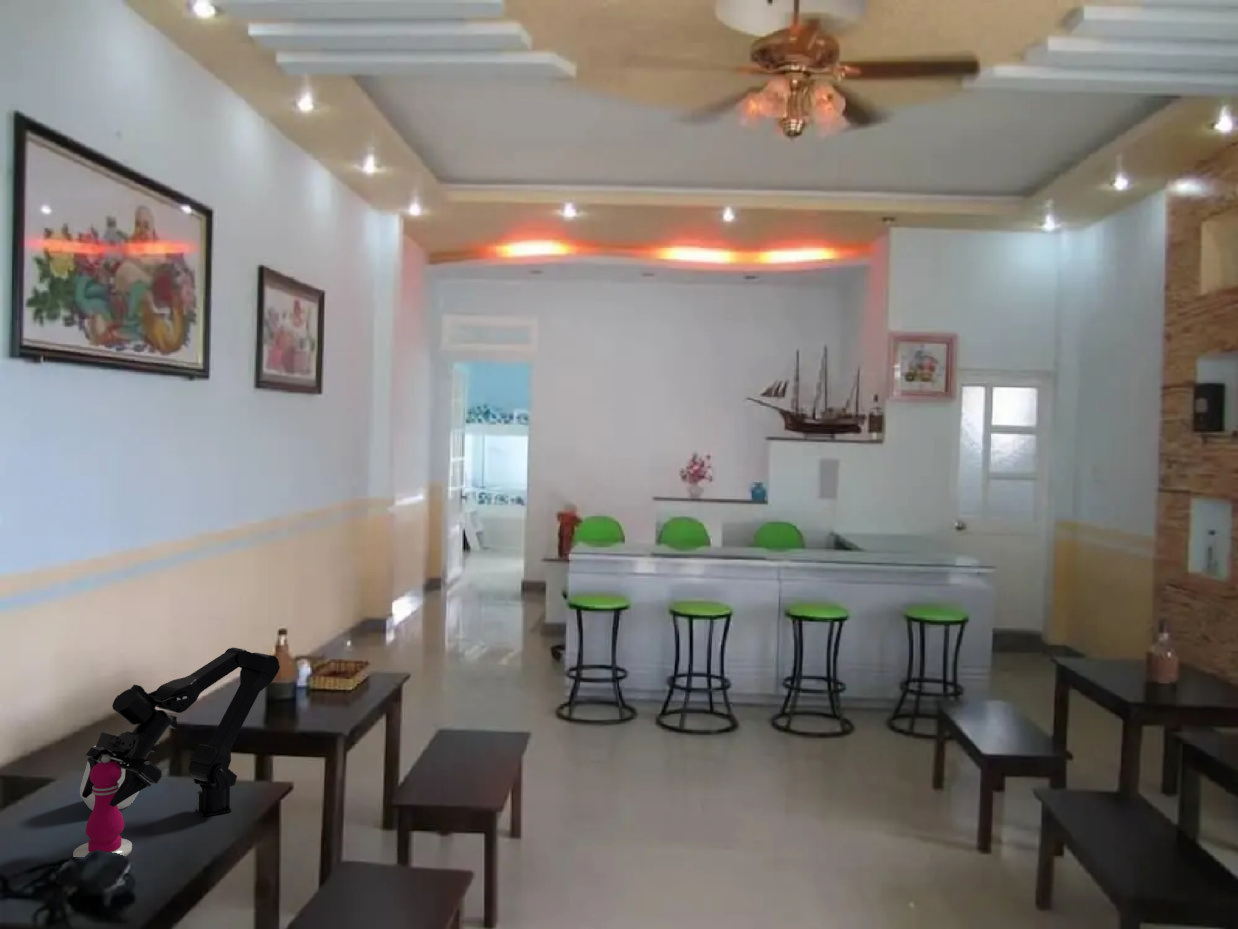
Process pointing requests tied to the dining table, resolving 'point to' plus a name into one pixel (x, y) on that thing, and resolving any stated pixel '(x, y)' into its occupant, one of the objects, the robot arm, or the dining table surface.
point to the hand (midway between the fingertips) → (97, 801)
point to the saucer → (123, 850)
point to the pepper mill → (105, 807)
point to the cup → (91, 798)
